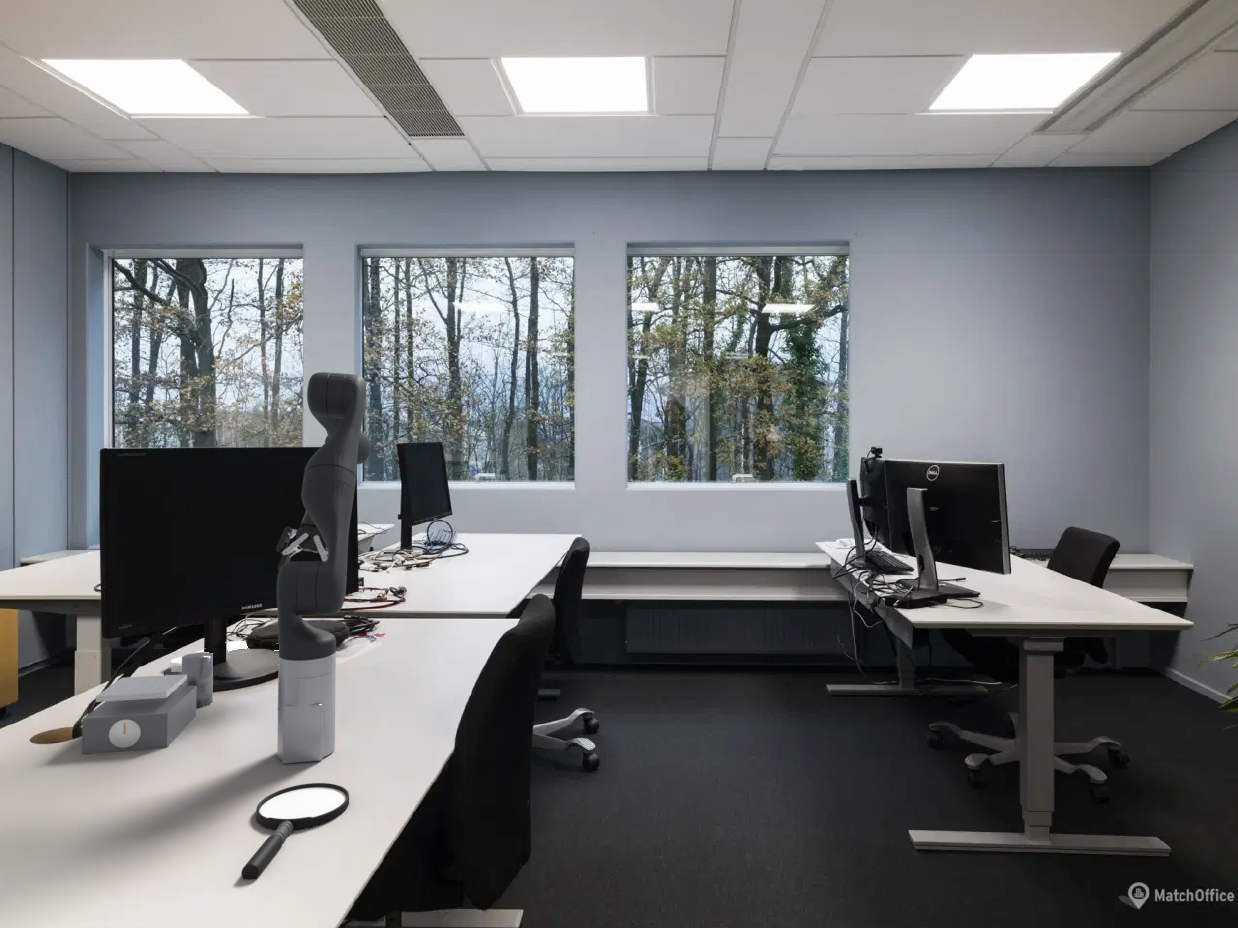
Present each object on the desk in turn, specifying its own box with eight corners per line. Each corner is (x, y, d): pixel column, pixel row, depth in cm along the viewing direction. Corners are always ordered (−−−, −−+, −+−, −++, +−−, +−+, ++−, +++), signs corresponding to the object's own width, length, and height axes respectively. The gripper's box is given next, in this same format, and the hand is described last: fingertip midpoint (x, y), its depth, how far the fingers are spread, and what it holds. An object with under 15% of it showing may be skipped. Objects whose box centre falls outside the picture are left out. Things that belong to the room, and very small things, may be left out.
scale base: (166, 748, 127) (166, 714, 127) (80, 754, 123) (81, 719, 123) (196, 715, 143) (196, 685, 143) (121, 720, 139) (121, 689, 139)
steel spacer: (208, 707, 147) (208, 658, 147) (177, 709, 146) (177, 660, 146) (216, 698, 153) (216, 651, 153) (186, 700, 151) (187, 652, 151)
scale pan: (166, 697, 129) (166, 692, 129) (95, 701, 126) (96, 696, 126) (186, 679, 140) (186, 674, 140) (122, 682, 137) (122, 677, 137)
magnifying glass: (196, 883, 88) (196, 865, 88) (277, 795, 111) (277, 781, 111) (302, 881, 88) (302, 863, 88) (359, 793, 112) (359, 779, 112)
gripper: (289, 498, 167) (263, 566, 161) (349, 510, 166) (325, 578, 160) (300, 509, 174) (276, 574, 168) (358, 520, 173) (335, 586, 167)
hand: (300, 576), depth 164 cm, fingers open, 8 cm apart
